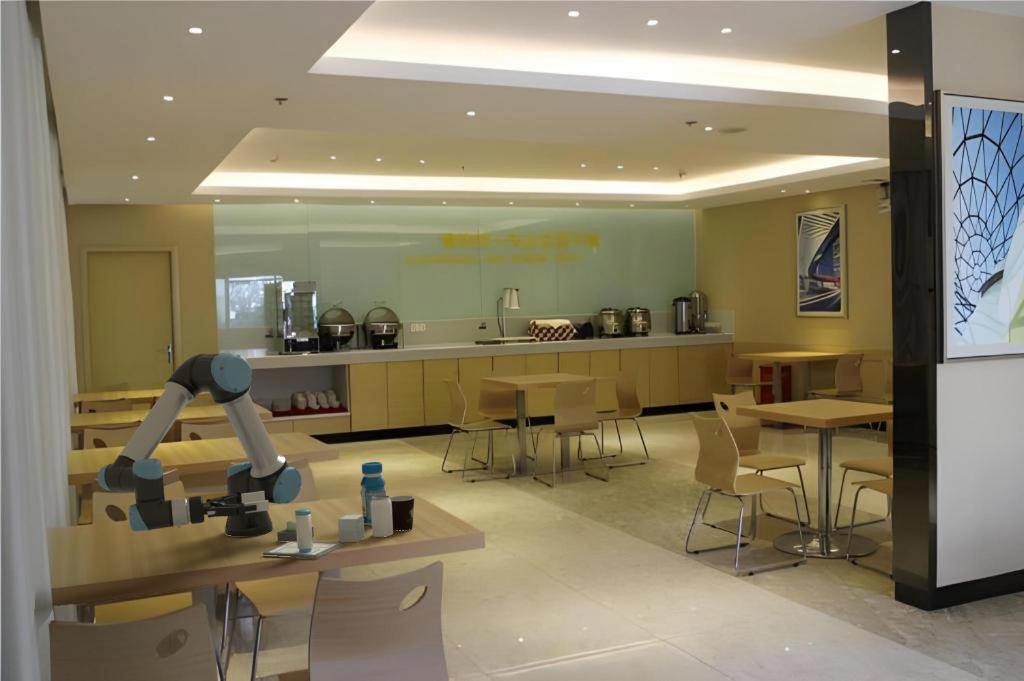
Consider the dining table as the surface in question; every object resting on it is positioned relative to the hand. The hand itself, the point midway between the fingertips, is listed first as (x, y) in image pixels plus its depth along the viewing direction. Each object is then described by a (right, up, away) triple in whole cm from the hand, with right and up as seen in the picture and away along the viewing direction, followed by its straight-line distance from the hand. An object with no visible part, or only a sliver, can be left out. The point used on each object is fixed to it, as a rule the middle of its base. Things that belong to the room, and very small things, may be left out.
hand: (266, 500), depth 266 cm
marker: (+10, -16, +4) cm, 19 cm away
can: (+30, -15, +24) cm, 41 cm away
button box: (+3, -16, +24) cm, 29 cm away
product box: (+21, -16, +19) cm, 33 cm away
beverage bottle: (+25, -15, +41) cm, 51 cm away
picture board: (+9, -17, +8) cm, 20 cm away
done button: (+3, -14, +24) cm, 28 cm away
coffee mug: (+37, -15, +32) cm, 51 cm away
